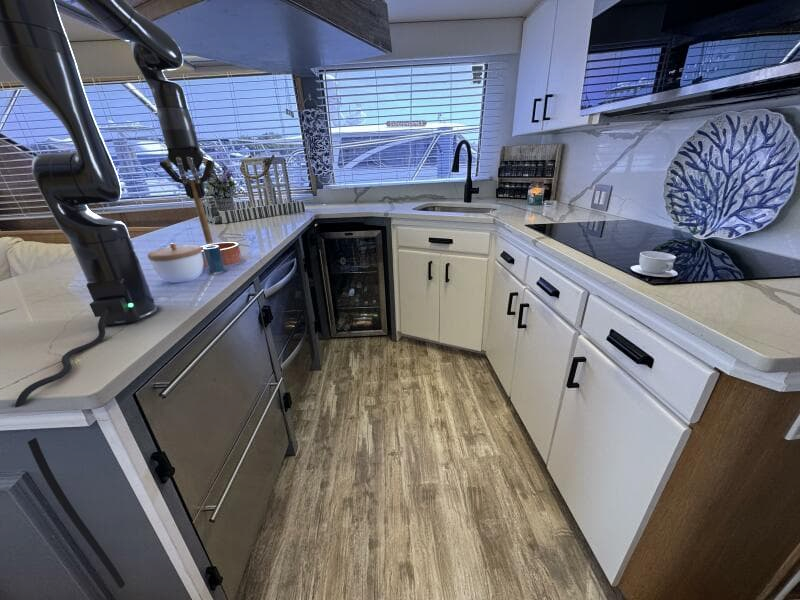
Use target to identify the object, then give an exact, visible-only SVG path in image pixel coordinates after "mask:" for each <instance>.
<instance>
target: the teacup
mask: <svg viewBox="0 0 800 600" xmlns="http://www.w3.org/2000/svg"><path fill="white" fill-rule="evenodd" d="M676 258H677V256H675V254H672V253H667V252H663V251H662V252H661V251H642V252H640V253H639V259H638V261H639V262H638V263H639V264H636V265H632V266H630V270H631V271H633V272H634V273H638V274H640V275H644V276H651V277H659V278H671V277H676V276H678V275H679V273H678V272H677V271H676V270H674V269H673V268H674V263H675V261H676Z"/></svg>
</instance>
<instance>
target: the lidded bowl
mask: <svg viewBox="0 0 800 600" xmlns="http://www.w3.org/2000/svg"><path fill="white" fill-rule="evenodd" d="M169 245H170V246H167V247H164V248H159V249H155V250H152V251H150V252H149V253H147V258H148V260H149V262H150V265H151V267H152V269H153V270H154V273H156V275H157V276H158V277H159V278H160V279H161V280H163V281H164V282H167V283H169V284H180V283H188V282H190V281H194V280H196V279H198V278H200V276H201V275H202V273H203V271H204V268H205V267H204V261H203V256H202V252H201V247H202V246H200V245H197V244H184V245H183V244H182V245H177V244H176V243H175V242H170V243H169Z"/></svg>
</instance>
